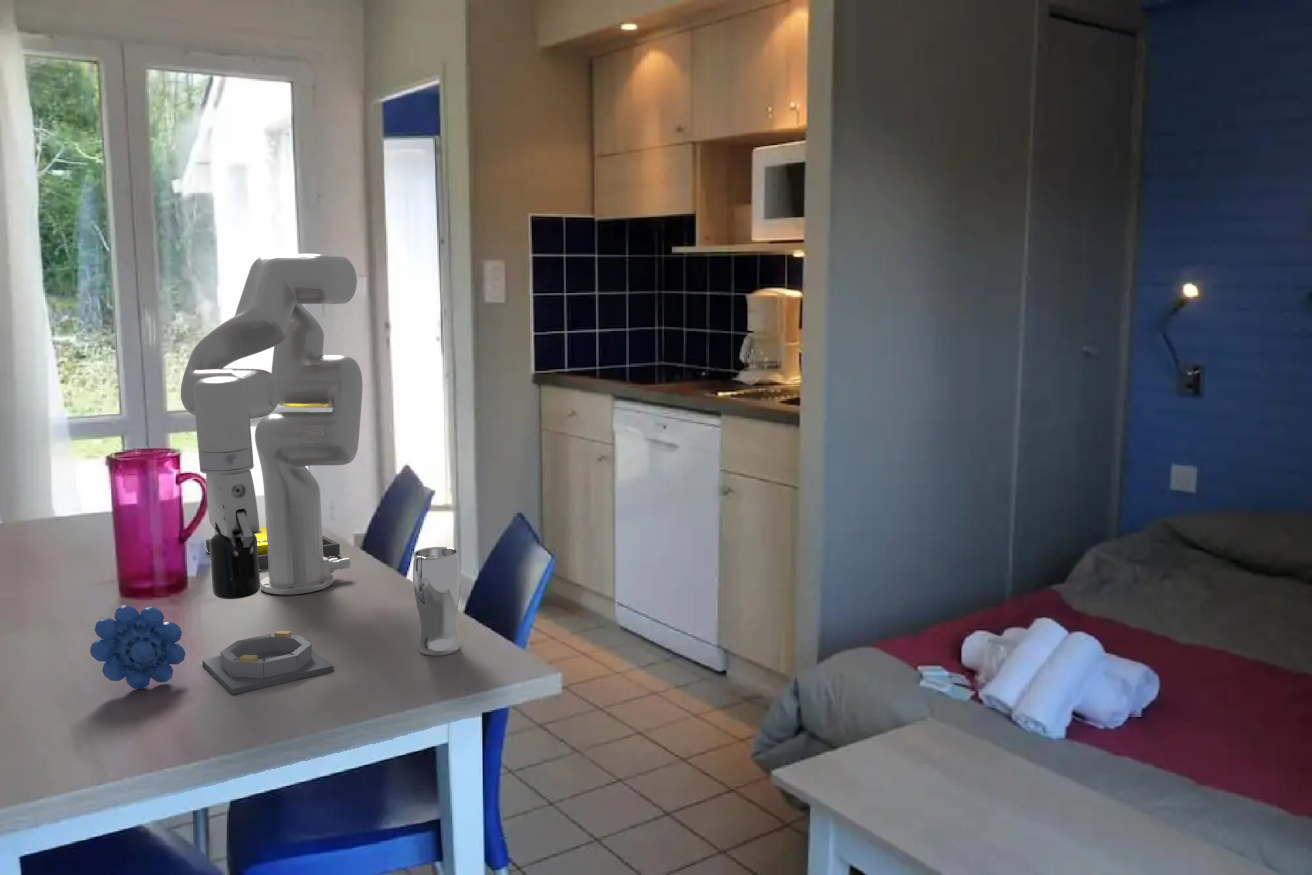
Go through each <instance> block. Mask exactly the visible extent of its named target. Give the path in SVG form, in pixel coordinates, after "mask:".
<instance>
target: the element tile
mask: <svg viewBox="0 0 1312 875" xmlns="http://www.w3.org/2000/svg"><path fill="white" fill-rule="evenodd" d="M253 534H254V533H253ZM254 535H255V536H256V537H257V544H258V556H259V555H265V554H268V550H267V533H266V526H265V527H260V530H259V532H258V533H257V534H254Z"/></svg>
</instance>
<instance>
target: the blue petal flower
mask: <svg viewBox="0 0 1312 875" xmlns="http://www.w3.org/2000/svg"><path fill="white" fill-rule="evenodd" d="M164 619H165V616H164V614H163V612H162V611H161V609H159V608H157V607H152V606H146V607H145V608H144V609H142V610H141V611H140V612H139V610H138V609H137V608H136V607H134V606H132V605H124V604H122V605H121V606H120V607H118V608H117V609H115V613H114V618H108V617H107V618H106V617H103V618H102V619H100V620H98V621H97V622H96V623H95V627H94V632H95V634H96V636H98V637H99V639H97V640H95V641H94V642H93V643H91V645H90V650H89V653H90V656H91V657H92V658H93V659H94V660H96V661H97V662H103V666H102V670H101V671H102V674H103V676H104V677H105V678H106V679H107V680H109V681H112V682H120V681H122V680H123V679H125V681H126V683H127V685H128V686H129V687H130V688H132V689H134V690H143V689H145V688H146V687H148V686H149V685H150V682H151V679H152V680H153V681H154V682H156V683H166V682H169V681H170V680H171V679H172V678H173V672H174V669H173V667H172V666H171V665H176V666H177V665H179V664H181V663H182V662H184V661H185V657H186V652H185V648H184V647H183V646H181V645H180V644H179V643H177V642H179V641H180V640H181V638H182V633H183V631H182V629H181V627H180V626H179V625H178V624H177V623H175V622H173V621H172V622H170V621H165V622H164Z"/></svg>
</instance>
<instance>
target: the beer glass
mask: <svg viewBox="0 0 1312 875" xmlns="http://www.w3.org/2000/svg"><path fill="white" fill-rule="evenodd" d="M461 578H462V577H461V566H460V557H459V550H458V549H456V548H453V547H448V546H430V547H424V548H421V549H417V550H415V551H414V552H413V567H412V585H413V586H412V587H413V593H414V594H413V595H414V600H415V604H416V607H417V614H418V619H419V624H420V636H419V643H418V652H419V653H420V654H422V655H425V656H433V657H434V656H435V657H436V656H446V655H447V656H448V655H450V654H451V655H452V654H454V653H456V652H457V651H459V649H460V648H461V647H460V641H459V636H458V632H457V631H458V630H457V617H458V609H459V604H460V596H461V587H462V584H461V581H462V580H461Z"/></svg>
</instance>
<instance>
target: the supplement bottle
mask: <svg viewBox="0 0 1312 875" xmlns="http://www.w3.org/2000/svg"><path fill="white" fill-rule="evenodd" d="M215 531H216V532H217V534H216V535H215V534H214V535H213V536H212V537H211V538H210V539H211V540H210V554H209V556H210V557H209V558H210V569H211V584H212V585H211V586H212V593H213V595H214V596H215V597H216V598H219V599H223V600H236V599H237V600H239V599H244V598H248V597H251V596H254V595H256V594H257V593H258V592H259V591H260V590H261V588H260V582H261V576H260V570H259V559H258V544H257V537H256V536H255V535H254V534H253V533H252V534H253V540H252V542H253V545H252V546H253V558H254V570H255V577H254V578H252V579H247V580H242V581H237V582H235V581H233V580H232V571H231V559H230V556H232V555H233V554H232V549H231V545H230V540H229V538H228V537H226V536H224V535H222V534H221V532H220V530H219V528H218V525H217V524H216V523H215V529H214V532H215ZM233 534H234V535H236V534H241V533H240V531H236V532H233ZM239 541H241V539H237V540H236V545H238V542H239Z"/></svg>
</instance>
